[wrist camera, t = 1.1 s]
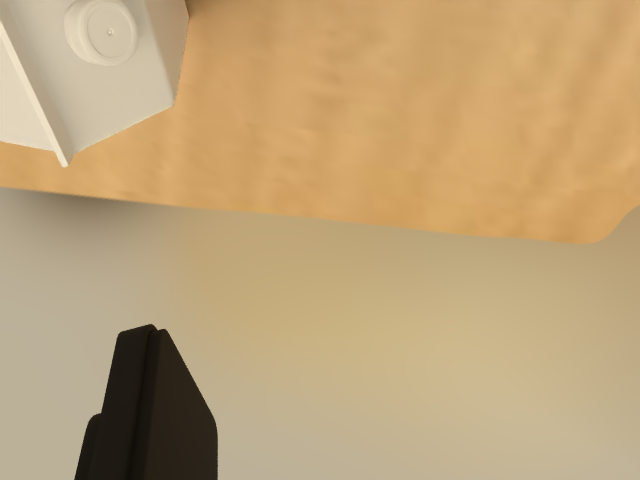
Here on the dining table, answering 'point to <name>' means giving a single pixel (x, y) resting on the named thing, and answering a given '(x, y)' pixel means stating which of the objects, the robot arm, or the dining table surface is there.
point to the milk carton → (86, 68)
